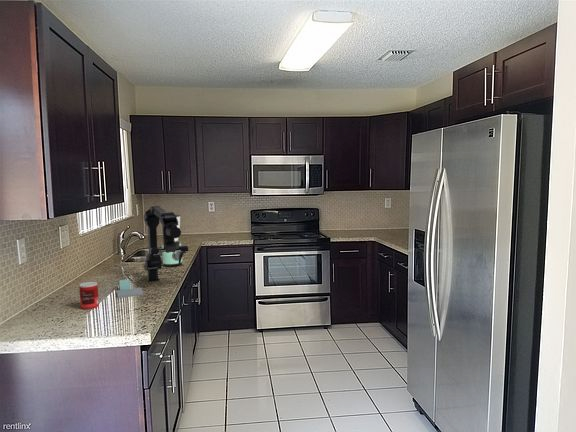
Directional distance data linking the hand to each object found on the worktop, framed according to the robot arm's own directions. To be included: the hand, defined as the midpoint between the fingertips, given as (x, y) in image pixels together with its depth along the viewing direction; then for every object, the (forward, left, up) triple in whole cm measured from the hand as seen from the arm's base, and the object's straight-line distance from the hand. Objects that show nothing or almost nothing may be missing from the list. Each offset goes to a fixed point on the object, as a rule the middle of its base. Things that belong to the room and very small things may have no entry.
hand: (170, 265), depth 214 cm
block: (-13, -22, -13) cm, 29 cm away
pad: (-3, -20, -13) cm, 24 cm away
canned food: (+12, -38, -13) cm, 42 cm away
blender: (-66, +10, -13) cm, 68 cm away
